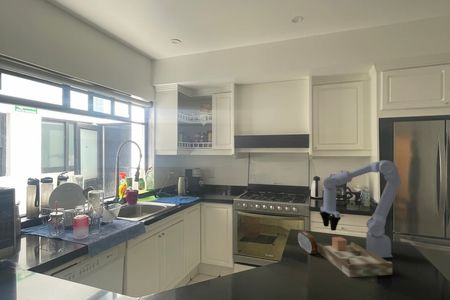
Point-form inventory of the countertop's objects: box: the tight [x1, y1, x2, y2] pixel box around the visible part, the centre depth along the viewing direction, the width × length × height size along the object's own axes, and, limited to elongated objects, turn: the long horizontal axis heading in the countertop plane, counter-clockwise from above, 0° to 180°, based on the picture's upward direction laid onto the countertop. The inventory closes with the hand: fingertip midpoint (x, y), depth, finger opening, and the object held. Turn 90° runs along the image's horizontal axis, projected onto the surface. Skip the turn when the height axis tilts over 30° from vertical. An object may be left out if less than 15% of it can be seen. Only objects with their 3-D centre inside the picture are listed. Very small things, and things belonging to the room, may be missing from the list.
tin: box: [297, 230, 318, 255], centre depth 117 cm, size 15×3×8 cm, turn 9°
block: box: [331, 236, 348, 250], centre depth 113 cm, size 4×4×4 cm
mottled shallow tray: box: [316, 241, 393, 278], centre depth 105 cm, size 18×24×4 cm
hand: (329, 228), depth 121 cm, fingers open, 6 cm apart
